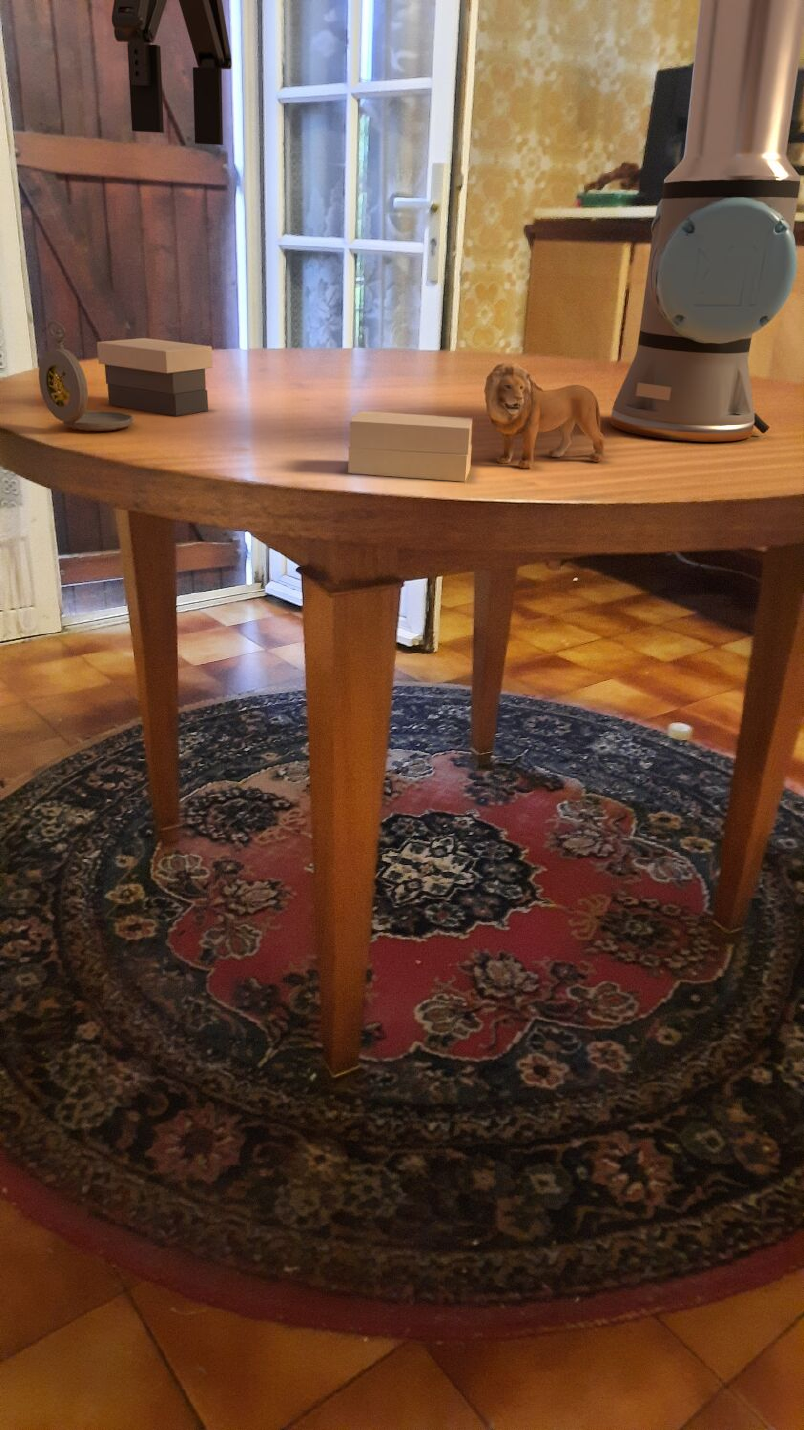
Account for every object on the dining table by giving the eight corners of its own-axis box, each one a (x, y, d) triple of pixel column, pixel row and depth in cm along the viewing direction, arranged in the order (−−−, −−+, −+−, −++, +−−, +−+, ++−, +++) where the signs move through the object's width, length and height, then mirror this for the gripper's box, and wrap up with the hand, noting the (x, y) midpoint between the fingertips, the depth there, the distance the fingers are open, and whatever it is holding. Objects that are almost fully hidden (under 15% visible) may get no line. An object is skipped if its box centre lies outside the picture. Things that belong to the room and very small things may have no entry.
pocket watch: (142, 423, 103) (135, 317, 99) (113, 439, 95) (104, 325, 91) (63, 419, 103) (53, 313, 99) (28, 434, 96) (15, 320, 92)
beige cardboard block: (471, 469, 90) (474, 418, 88) (466, 482, 85) (469, 428, 83) (358, 460, 91) (359, 410, 89) (346, 473, 86) (347, 420, 84)
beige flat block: (212, 367, 110) (212, 346, 109) (167, 373, 105) (165, 351, 104) (145, 358, 115) (144, 338, 114) (98, 363, 109) (96, 342, 108)
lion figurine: (504, 476, 88) (513, 367, 84) (464, 464, 92) (471, 359, 88) (619, 460, 96) (632, 360, 92) (578, 450, 100) (589, 353, 96)
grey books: (208, 410, 111) (206, 368, 109) (176, 416, 107) (173, 372, 106) (140, 399, 116) (137, 359, 114) (107, 404, 112) (104, 362, 110)
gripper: (190, -103, 99) (197, 147, 108) (53, -200, 77) (76, 123, 86) (263, -103, 97) (264, 150, 107) (145, -202, 75) (158, 127, 85)
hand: (180, 139), depth 96 cm, fingers open, 13 cm apart
